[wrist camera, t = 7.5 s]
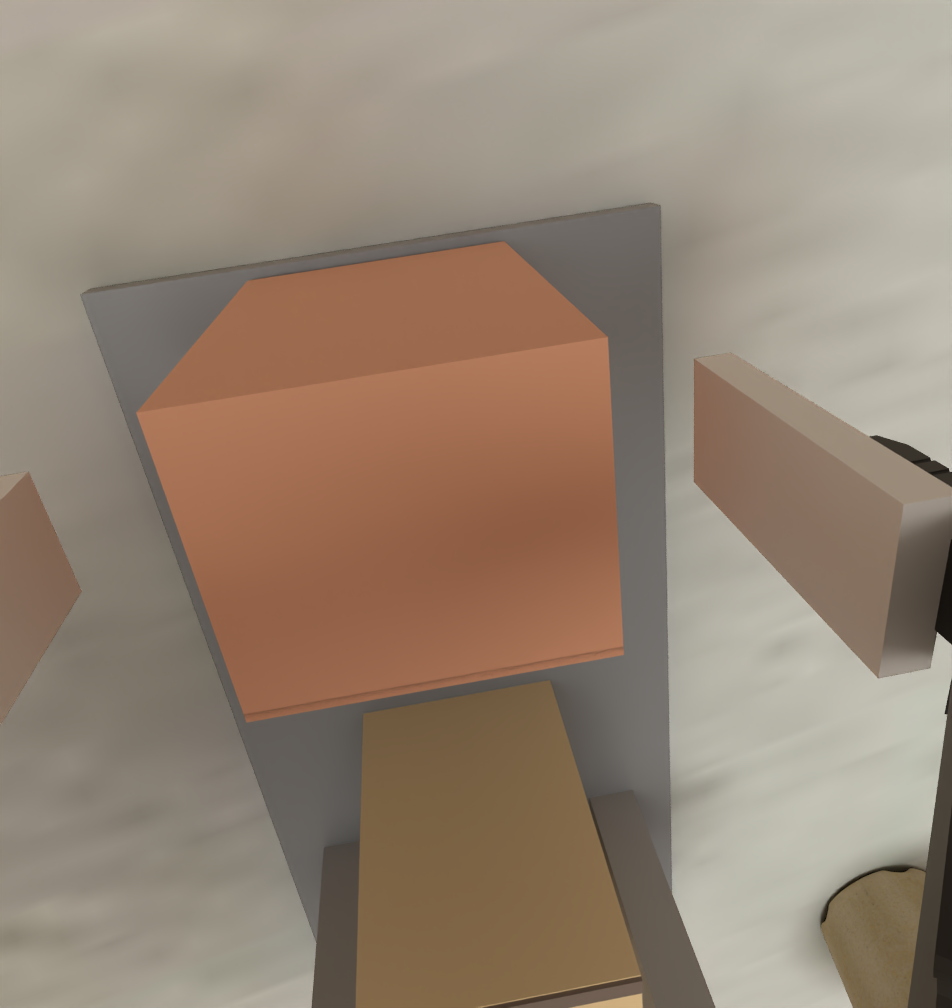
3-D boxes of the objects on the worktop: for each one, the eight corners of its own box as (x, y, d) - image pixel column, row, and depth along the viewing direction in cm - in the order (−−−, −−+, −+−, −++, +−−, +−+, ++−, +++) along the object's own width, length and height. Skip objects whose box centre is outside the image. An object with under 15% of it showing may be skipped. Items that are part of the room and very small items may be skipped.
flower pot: (1008, 862, 38) (1168, 1049, 30) (893, 976, 41) (1010, 1171, 34) (863, 824, 35) (998, 1018, 28) (754, 949, 39) (847, 1154, 31)
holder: (335, 975, 36) (311, 1445, 23) (90, 288, 21) (-347, 537, 8) (666, 910, 36) (821, 1332, 24) (651, 203, 22) (1032, 312, 9)
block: (299, 480, 23) (246, 722, 14) (247, 280, 20) (136, 412, 11) (525, 443, 23) (624, 654, 14) (503, 241, 21) (608, 336, 11)
